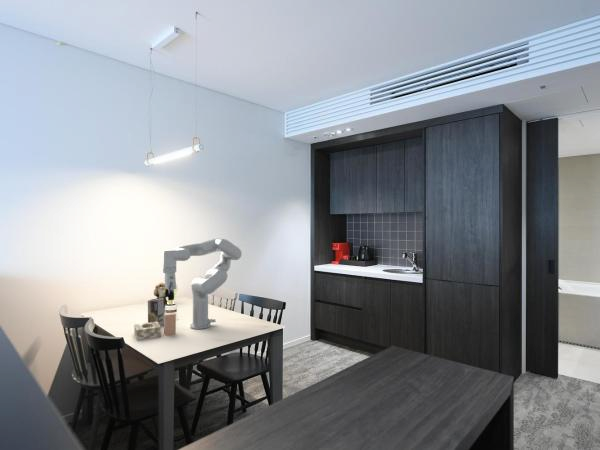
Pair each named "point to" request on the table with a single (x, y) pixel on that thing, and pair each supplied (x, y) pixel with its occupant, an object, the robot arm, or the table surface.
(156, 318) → the coffee box
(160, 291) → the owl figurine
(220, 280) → the robot arm
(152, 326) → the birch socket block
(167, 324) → the terracotta peg
